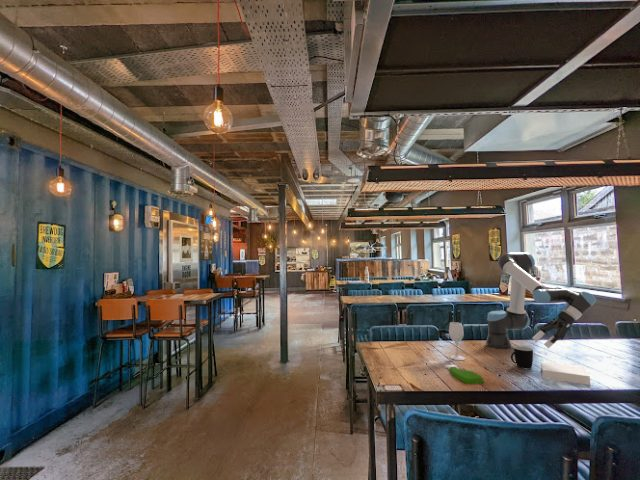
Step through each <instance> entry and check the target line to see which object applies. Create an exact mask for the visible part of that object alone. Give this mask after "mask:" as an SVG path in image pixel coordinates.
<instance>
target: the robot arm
mask: <svg viewBox="0 0 640 480" xmlns="http://www.w3.org/2000/svg"><path fill="white" fill-rule="evenodd" d="M497 265H498V268H499V269H500V270H501V271H502V272H503V273H504V274H507V275H510V276H511V280H510V282H511V283H510V293H509V307H507V308H506V311H505V310H492V311H489V312H487V318H486V320H487V333H488V334H487V337H486V341H485V346H487V347H489V348H492V347H493V348H492V349H500V350H501V349H502V350H509V349H511V348H512V343H511V340H510V337H509V335H508V331H517V330H518V331H522V330H525V329H527V328H528V327H529V326H530V324H531V319H530V317H529V315H528V313H527V311H526V309H525V302H526V301H525V299H526V291H529V292H530V293H531V294H532V299H533V300H534V301H535V302H536V303H538V304H551V303H552V304H554V303H566V304H567V305H566V306H565V307H564V308H563V309H562V310H561V311H560V312H559V313H558V314H557V315H556V316H557V318H558V319H556V318H555V317H553V318H552V319H551V320H550V321H548V322H547V323H545V324H543V325H542V326H540V327H539V329H540V330H539V331H538V332H536V334H535V335H534V336H532V337H531V339H532V340H533V341H535V342H538V341H540V339H541V338H542V337H544V336H545V335H546V334H547V332H550V331H552V330H554V329H555V331H554V334H553V335H552V336H551V337H550V338H549V339H548V340H547V341H545V342H544V343H543V345H544V346H545V347H546V348H547V349H550V348H551V347H552V346H553V345H554V344H555V343H556V342H557V341H558V340H561V341H563V340H564V339H565V336H566V334H567V333H568V331H569V330H570V328H571V327H572V325H573V324H574V323H576V321H577V320H578V319H580V318H581V317H582V316H583V315H584V314H585V312H587V311H588V310H589V309H591V308H592V307H593V306H594V304H595V303H596V302H597V298H596V297H595V296H594V295H593V294H592V293H590V292H588V291H584V290H582V291H581V292H580V293H579V292H576V291H574V290H571V289H569V288H567V287H564V286H556V287H555V288H548V287H547V286H545V285H544V284H543V283H541V282H539V281H538V280H537V279H536V278H535V277H533V275H531V274H530V271H531V270H533V269H534V267H535V265H536V261H535V259H534V256H533V255H532V254H531V253H529V252H522V251H518V252H504V253H502V254H501V255H500V256H499V257H498V259H497Z"/></svg>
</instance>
